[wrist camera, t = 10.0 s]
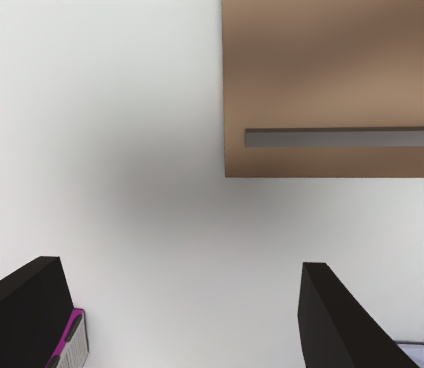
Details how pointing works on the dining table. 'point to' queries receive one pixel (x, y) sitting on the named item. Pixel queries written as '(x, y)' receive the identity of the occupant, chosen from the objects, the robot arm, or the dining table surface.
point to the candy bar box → (71, 344)
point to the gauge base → (323, 88)
